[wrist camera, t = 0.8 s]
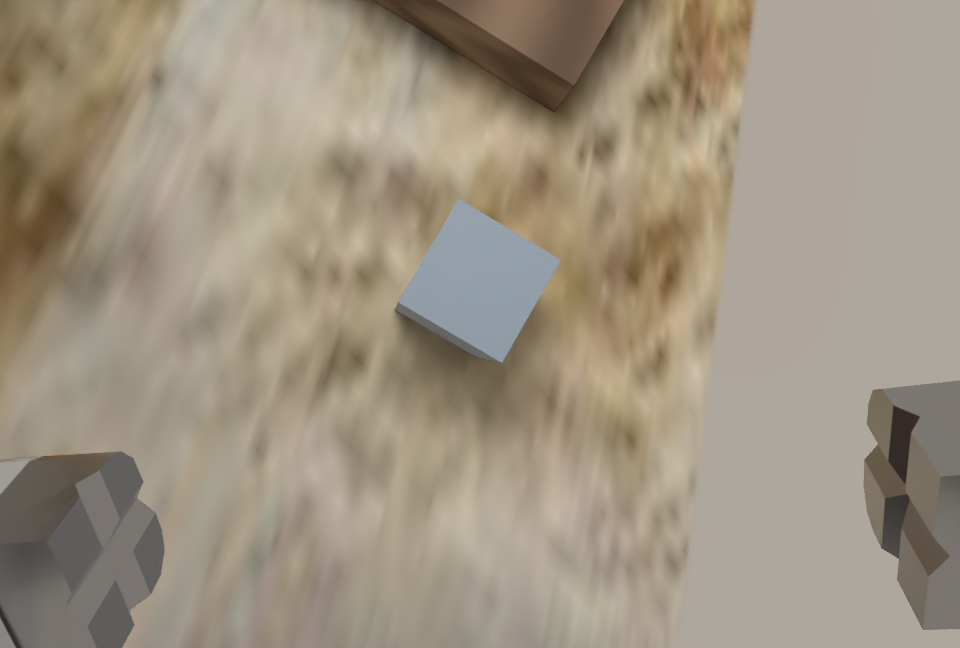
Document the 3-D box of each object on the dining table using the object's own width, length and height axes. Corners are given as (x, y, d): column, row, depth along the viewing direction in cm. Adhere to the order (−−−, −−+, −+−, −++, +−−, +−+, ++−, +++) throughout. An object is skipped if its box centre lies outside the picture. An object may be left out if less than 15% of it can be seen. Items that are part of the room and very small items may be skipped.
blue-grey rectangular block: (394, 309, 46) (398, 302, 36) (442, 228, 47) (458, 199, 37) (476, 357, 47) (502, 362, 37) (523, 276, 47) (560, 260, 37)
